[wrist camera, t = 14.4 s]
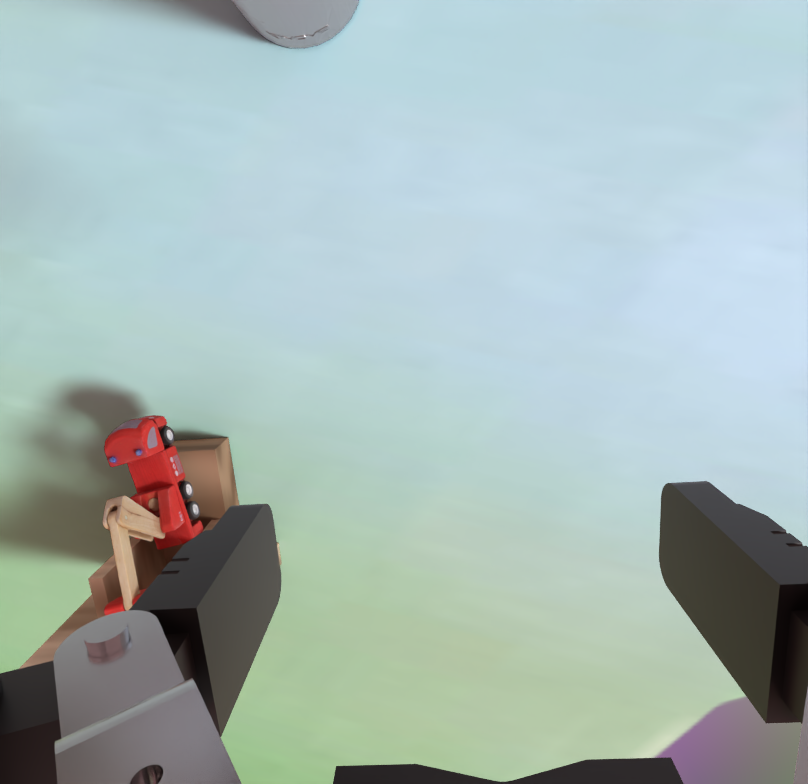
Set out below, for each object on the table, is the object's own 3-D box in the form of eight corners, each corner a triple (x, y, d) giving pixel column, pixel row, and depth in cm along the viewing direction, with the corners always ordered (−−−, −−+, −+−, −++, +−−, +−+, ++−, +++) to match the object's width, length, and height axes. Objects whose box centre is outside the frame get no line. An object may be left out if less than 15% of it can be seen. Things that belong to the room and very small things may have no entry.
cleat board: (113, 444, 47) (-108, 577, 27) (263, 435, 46) (144, 566, 27) (140, 569, 50) (-43, 770, 30) (281, 563, 49) (186, 764, 30)
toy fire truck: (167, 408, 43) (91, 434, 33) (222, 571, 44) (165, 641, 35) (127, 420, 43) (40, 449, 33) (183, 581, 44) (116, 653, 35)
